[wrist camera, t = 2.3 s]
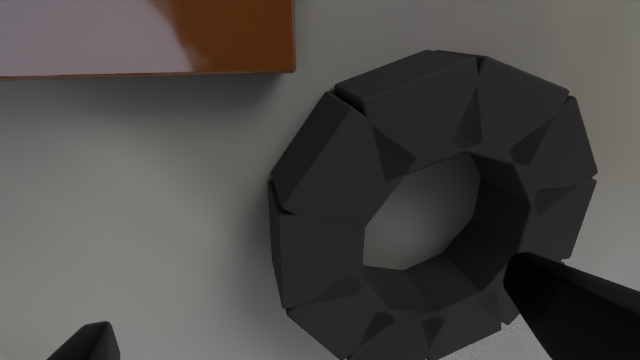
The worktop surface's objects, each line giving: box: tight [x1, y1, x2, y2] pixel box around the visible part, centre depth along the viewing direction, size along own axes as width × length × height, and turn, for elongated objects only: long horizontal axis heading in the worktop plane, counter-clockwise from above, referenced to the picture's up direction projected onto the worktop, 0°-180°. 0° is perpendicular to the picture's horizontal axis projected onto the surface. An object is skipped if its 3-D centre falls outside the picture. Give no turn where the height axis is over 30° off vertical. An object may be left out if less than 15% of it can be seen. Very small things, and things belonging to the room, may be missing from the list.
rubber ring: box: [268, 50, 598, 360], centre depth 11 cm, size 9×10×2 cm
